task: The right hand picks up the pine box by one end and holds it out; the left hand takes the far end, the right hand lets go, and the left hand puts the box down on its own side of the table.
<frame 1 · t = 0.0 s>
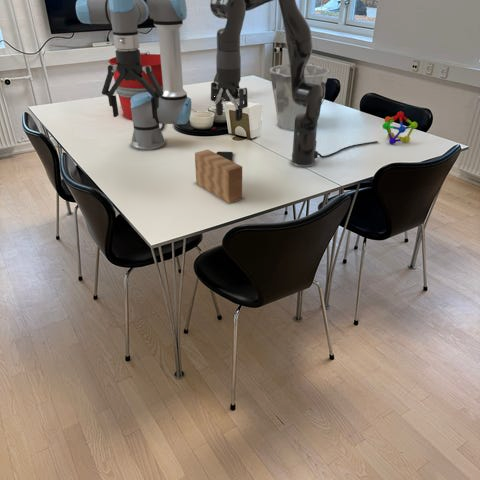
left hand: (135, 116, 150), 28 cm above the table, tool pointing down, fingers open, 13 cm apart
right hand: (228, 117, 145), 29 cm above the table, tool pointing down, fingers open, 8 cm apart
bucket: (295, 125, 233), on the table
smartphone: (224, 159, 192), on the table
bucket 2: (145, 114, 249), on the table
educational toy: (395, 143, 211), on the table
bell: (226, 97, 281), on the table
box: (218, 190, 165), on the table
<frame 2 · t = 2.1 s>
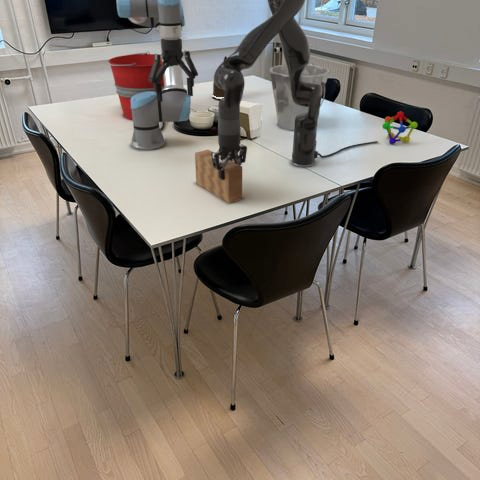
left hand: (175, 98, 171), 28 cm above the table, tool pointing down, fingers open, 13 cm apart
right hand: (229, 176, 156), 8 cm above the table, tool pointing down, fingers closed on box, 6 cm apart
box: (218, 190, 165), on the table, touching right hand
everything else where it was.
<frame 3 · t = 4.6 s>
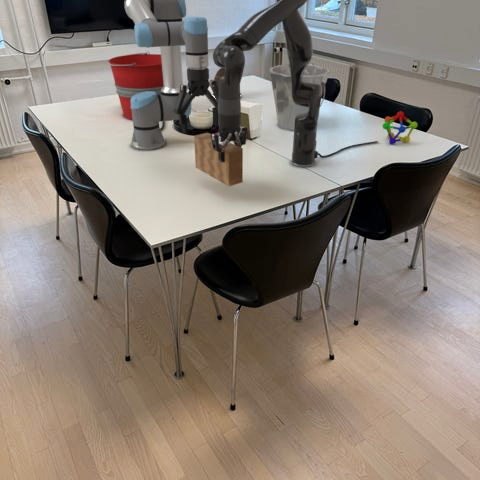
left hand: (200, 129, 161), 21 cm above the table, tool pointing down, fingers open, 13 cm apart
right hand: (229, 159, 153), 15 cm above the table, tool pointing down, fingers closed on box, 6 cm apart
box: (218, 174, 162), point 7 cm above the table, touching right hand
everything else where it was.
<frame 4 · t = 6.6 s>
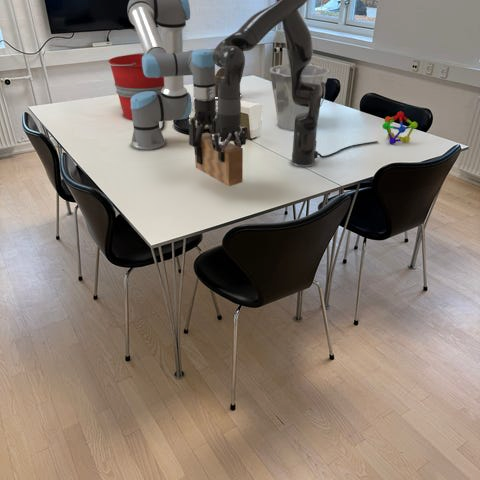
left hand: (207, 161, 165), 10 cm above the table, tool pointing down, fingers closed on box, 6 cm apart
right hand: (229, 159, 153), 15 cm above the table, tool pointing down, fingers closed on box, 6 cm apart
box: (218, 174, 162), point 7 cm above the table, touching left hand, right hand
everything else where it was.
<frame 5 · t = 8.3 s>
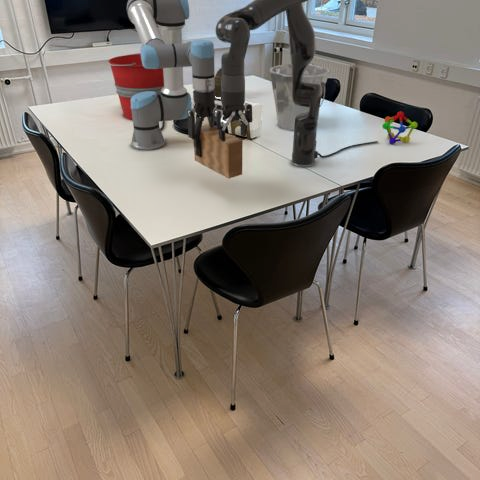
left hand: (206, 153, 164), 12 cm above the table, tool pointing down, fingers closed on box, 6 cm apart
right hand: (233, 138, 147), 23 cm above the table, tool pointing down, fingers open, 8 cm apart
box: (217, 167, 161), point 9 cm above the table, touching left hand
everything else where it was.
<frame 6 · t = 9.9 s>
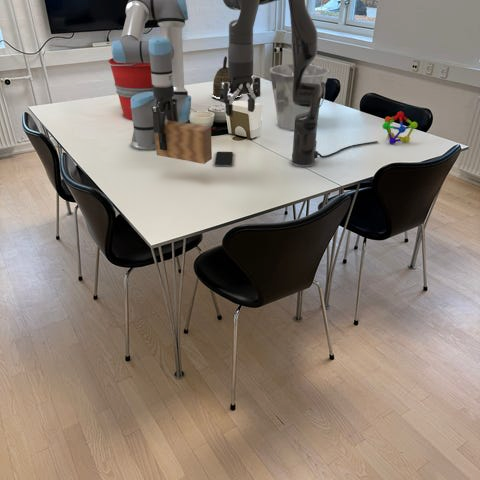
left hand: (168, 146, 171), 12 cm above the table, tool pointing down, fingers closed on box, 6 cm apart
right hand: (240, 113, 140), 32 cm above the table, tool pointing down, fingers open, 8 cm apart
box: (184, 157, 170), point 9 cm above the table, touching left hand
everything else where it was.
when the left hand's fingers open (4 cm above the table, at t = 10.9 s): box drops 1 cm, on the table.
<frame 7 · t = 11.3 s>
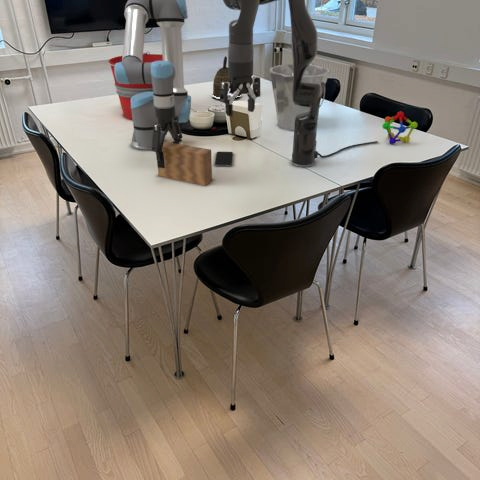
left hand: (169, 162, 175), 5 cm above the table, tool pointing down, fingers open, 11 cm apart
right hand: (240, 113, 140), 32 cm above the table, tool pointing down, fingers open, 8 cm apart
box: (185, 177, 175), on the table
everything else where it was.
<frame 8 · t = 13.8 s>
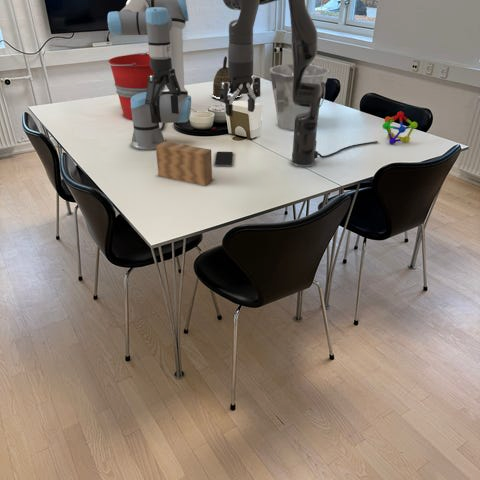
left hand: (165, 118, 165), 23 cm above the table, tool pointing down, fingers open, 13 cm apart
right hand: (240, 113, 140), 32 cm above the table, tool pointing down, fingers open, 8 cm apart
nothing on the table moved.
at the end: box inside the target area (6.8 cm from its centre), on the table; the left hand is holding nothing; the right hand is holding nothing; box at rest at the end (0.0 cm/s) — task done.
